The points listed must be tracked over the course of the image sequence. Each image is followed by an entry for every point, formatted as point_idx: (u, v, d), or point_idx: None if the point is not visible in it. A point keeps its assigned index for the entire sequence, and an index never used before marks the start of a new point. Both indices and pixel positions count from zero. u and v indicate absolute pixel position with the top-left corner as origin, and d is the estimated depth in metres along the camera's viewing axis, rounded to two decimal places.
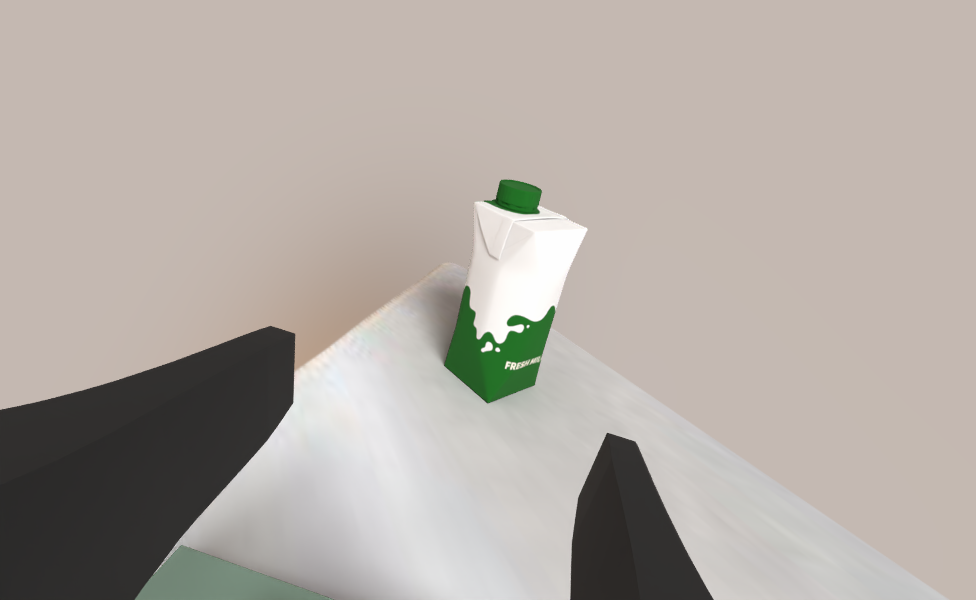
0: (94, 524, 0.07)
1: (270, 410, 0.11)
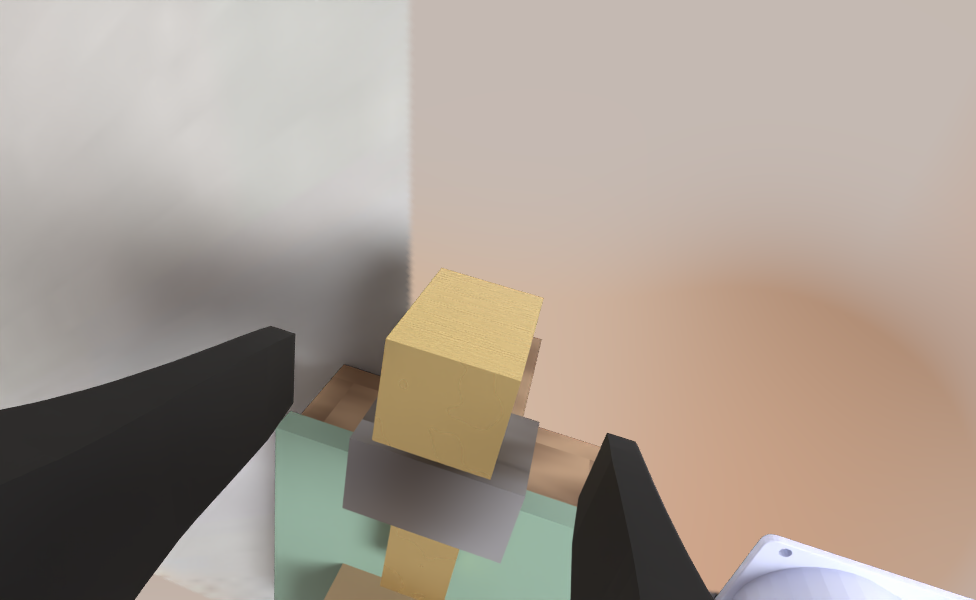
0: (94, 524, 0.07)
1: (270, 410, 0.11)
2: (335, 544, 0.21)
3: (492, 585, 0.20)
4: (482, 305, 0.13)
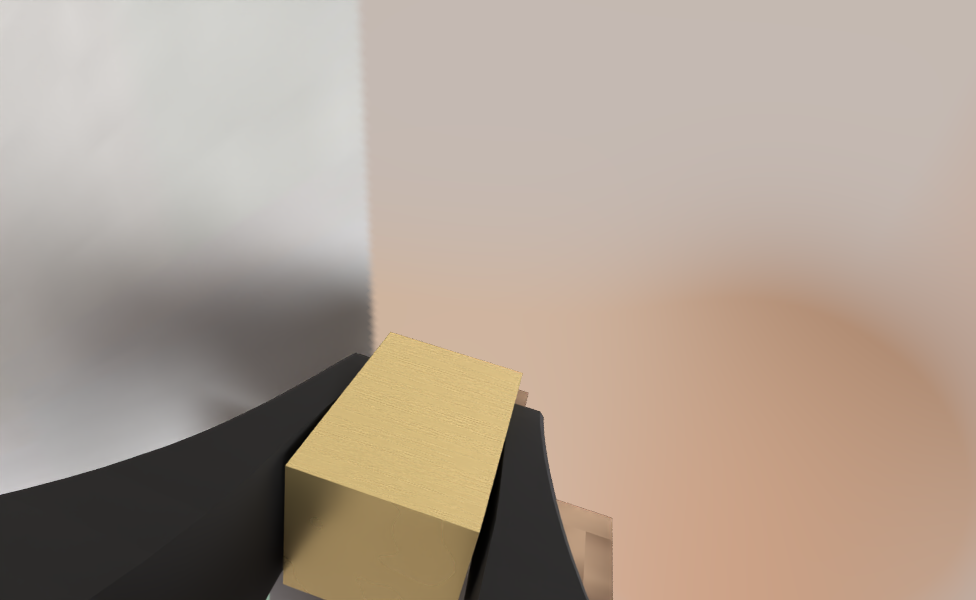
0: (224, 572, 0.07)
1: None
2: None
3: None
4: (438, 391, 0.09)
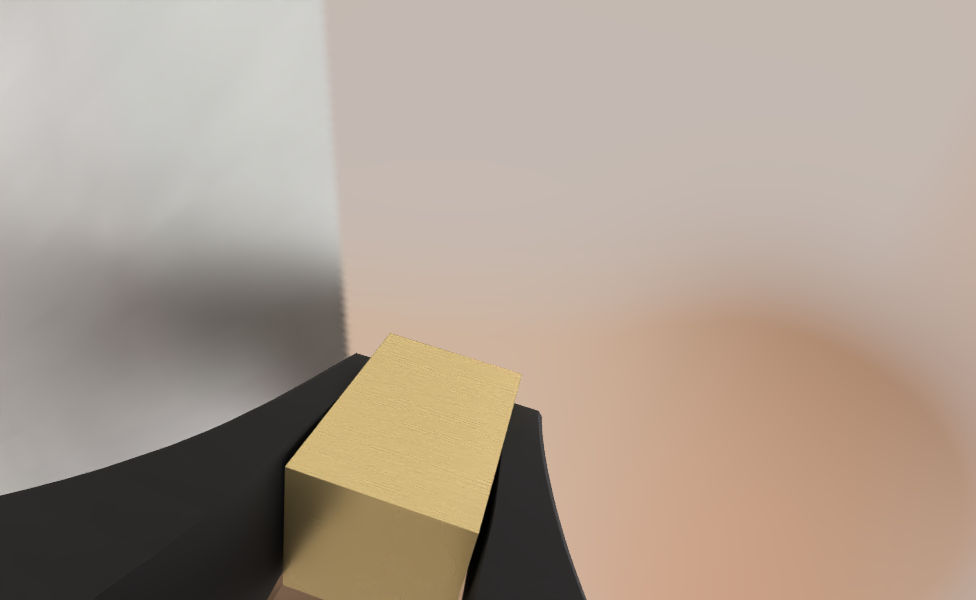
0: (225, 572, 0.07)
1: None
2: None
3: None
4: (437, 392, 0.09)
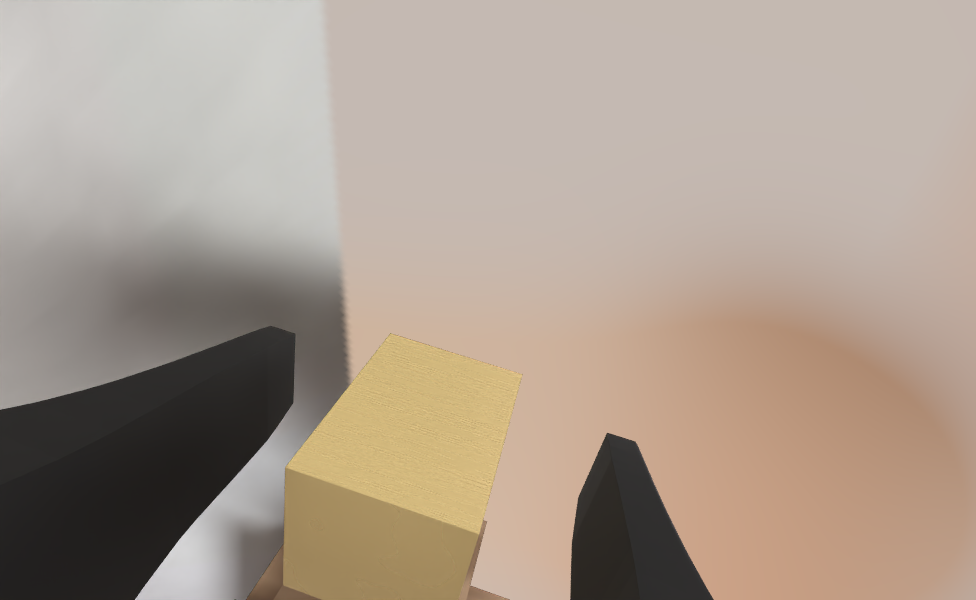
0: (94, 524, 0.07)
1: (270, 410, 0.11)
2: None
3: None
4: (437, 392, 0.09)
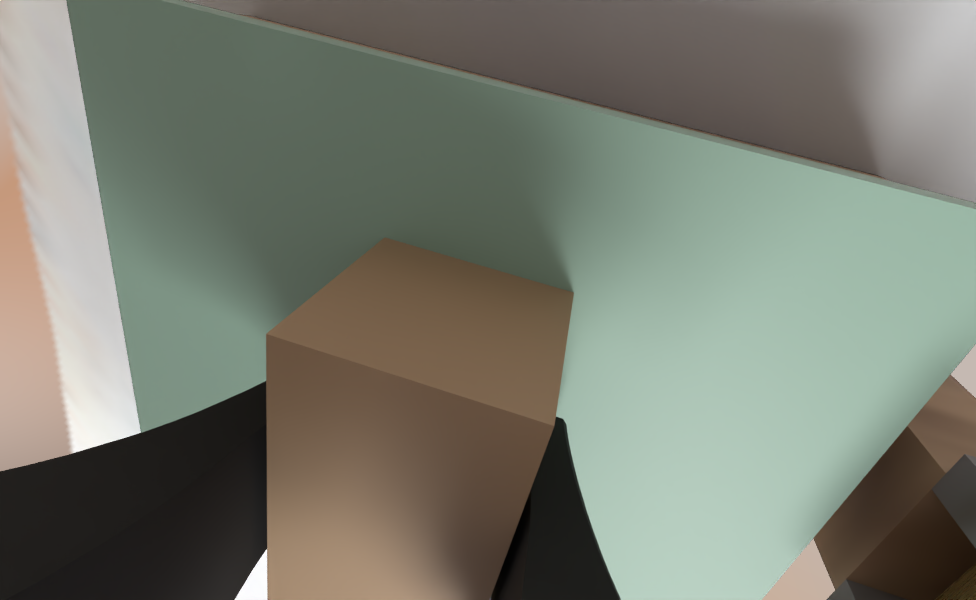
0: (191, 560, 0.07)
1: None
2: (636, 289, 0.09)
3: None
4: None
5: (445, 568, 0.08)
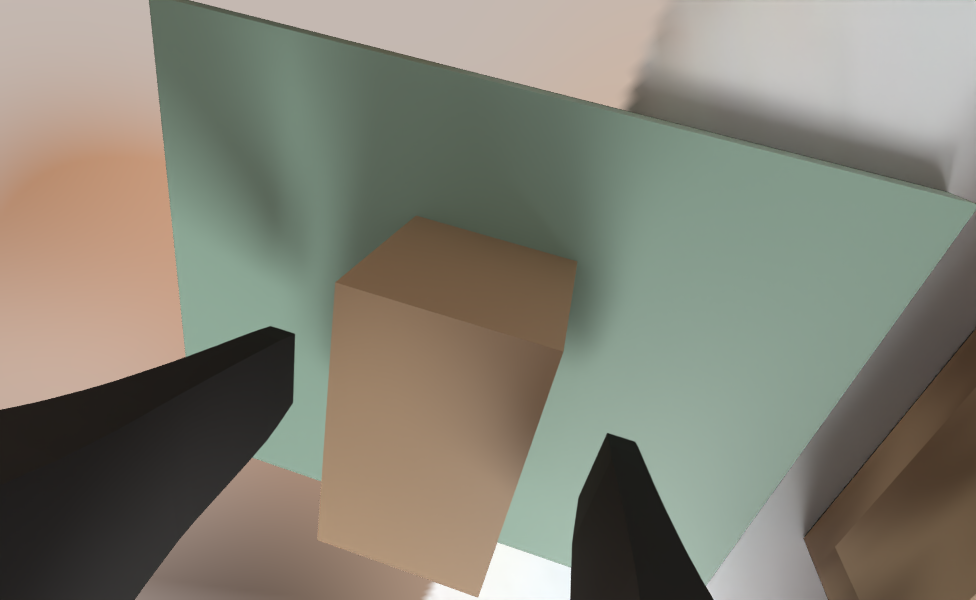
0: (94, 524, 0.07)
1: (270, 410, 0.11)
2: (630, 257, 0.11)
3: (581, 478, 0.14)
4: None
5: (472, 481, 0.10)
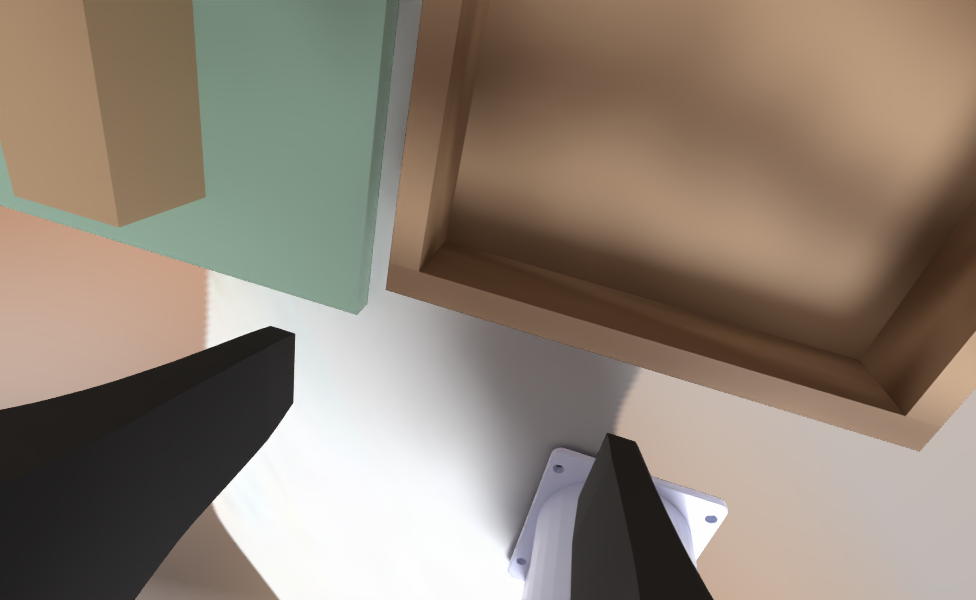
0: (94, 524, 0.07)
1: (270, 410, 0.11)
2: None
3: (252, 197, 0.19)
4: None
5: (76, 111, 0.15)
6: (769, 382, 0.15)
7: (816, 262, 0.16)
